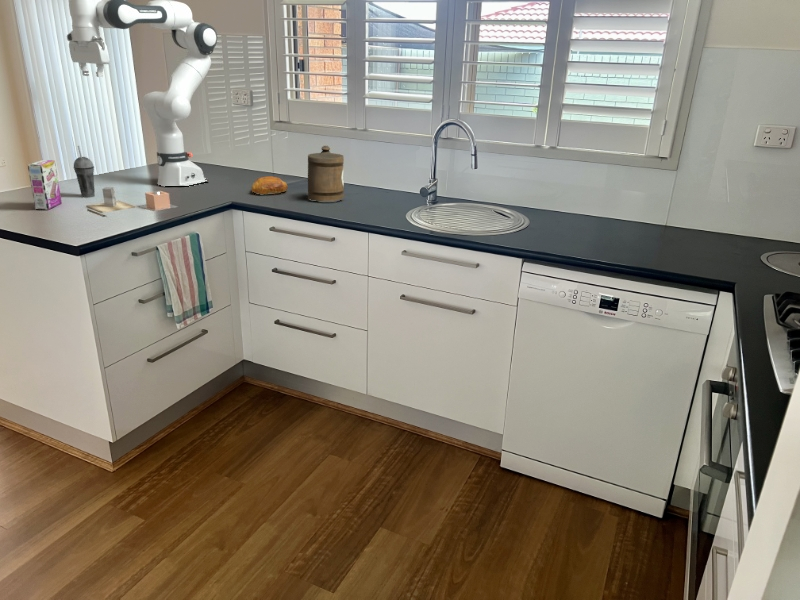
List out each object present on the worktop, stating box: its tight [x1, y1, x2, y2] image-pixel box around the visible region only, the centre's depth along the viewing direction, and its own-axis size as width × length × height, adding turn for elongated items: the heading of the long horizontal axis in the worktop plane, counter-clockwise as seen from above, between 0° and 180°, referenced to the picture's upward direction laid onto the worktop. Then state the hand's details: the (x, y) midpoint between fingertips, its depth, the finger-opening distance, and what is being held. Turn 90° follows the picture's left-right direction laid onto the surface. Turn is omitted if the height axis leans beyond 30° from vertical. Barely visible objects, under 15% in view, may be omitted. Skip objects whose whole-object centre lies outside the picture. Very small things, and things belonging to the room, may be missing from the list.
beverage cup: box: [73, 145, 96, 199], centre depth 235 cm, size 7×7×20 cm
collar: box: [144, 190, 171, 209], centre depth 220 cm, size 6×6×5 cm
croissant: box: [250, 176, 289, 194], centre depth 257 cm, size 14×16×8 cm
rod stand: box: [138, 190, 178, 212], centre depth 221 cm, size 10×10×7 cm
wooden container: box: [307, 145, 345, 201], centre depth 246 cm, size 15×15×22 cm
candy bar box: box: [27, 159, 63, 211], centre depth 218 cm, size 11×5×16 cm, turn 5°
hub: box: [86, 186, 136, 218], centre depth 217 cm, size 12×12×8 cm
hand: (92, 76), depth 225 cm, fingers open, 8 cm apart
